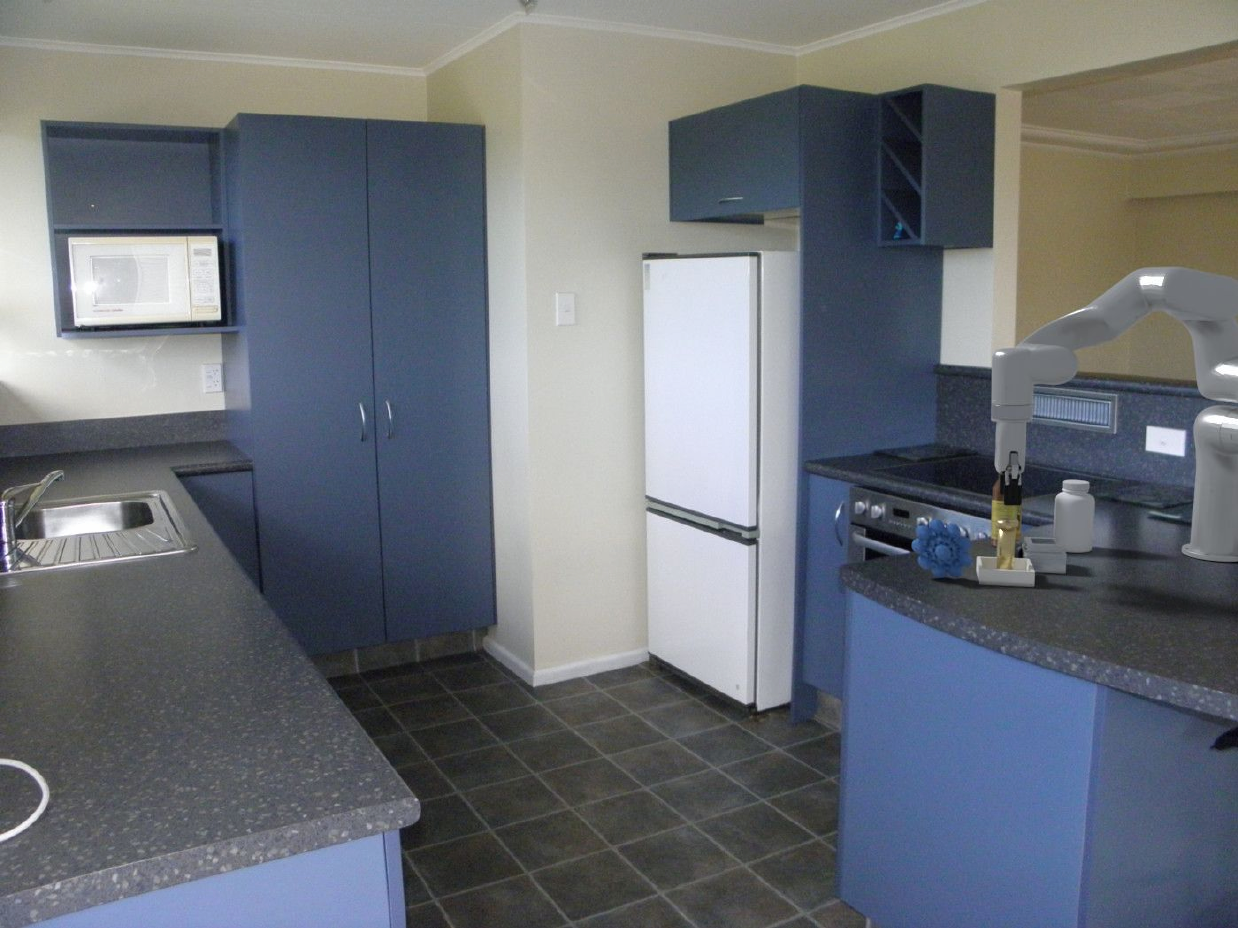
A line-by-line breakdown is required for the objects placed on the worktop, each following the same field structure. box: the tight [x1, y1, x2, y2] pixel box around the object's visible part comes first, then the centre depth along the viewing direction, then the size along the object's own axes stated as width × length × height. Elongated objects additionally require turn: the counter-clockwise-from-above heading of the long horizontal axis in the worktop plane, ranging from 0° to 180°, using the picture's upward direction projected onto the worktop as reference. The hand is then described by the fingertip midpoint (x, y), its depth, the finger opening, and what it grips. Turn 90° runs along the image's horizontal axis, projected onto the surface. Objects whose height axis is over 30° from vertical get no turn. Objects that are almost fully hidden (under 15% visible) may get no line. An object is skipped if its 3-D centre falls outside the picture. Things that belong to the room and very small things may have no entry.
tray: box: [975, 555, 1036, 588], centre depth 208 cm, size 10×10×3 cm
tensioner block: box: [995, 536, 1067, 575], centre depth 216 cm, size 13×8×6 cm, turn 74°
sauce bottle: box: [990, 473, 1023, 548], centre depth 232 cm, size 6×6×20 cm
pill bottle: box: [1052, 479, 1096, 554], centre depth 229 cm, size 8×8×15 cm
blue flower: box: [911, 518, 974, 579], centre depth 208 cm, size 12×7×12 cm, turn 77°
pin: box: [996, 518, 1018, 570], centre depth 207 cm, size 4×4×11 cm
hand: (1010, 499), depth 206 cm, fingers open, 9 cm apart
